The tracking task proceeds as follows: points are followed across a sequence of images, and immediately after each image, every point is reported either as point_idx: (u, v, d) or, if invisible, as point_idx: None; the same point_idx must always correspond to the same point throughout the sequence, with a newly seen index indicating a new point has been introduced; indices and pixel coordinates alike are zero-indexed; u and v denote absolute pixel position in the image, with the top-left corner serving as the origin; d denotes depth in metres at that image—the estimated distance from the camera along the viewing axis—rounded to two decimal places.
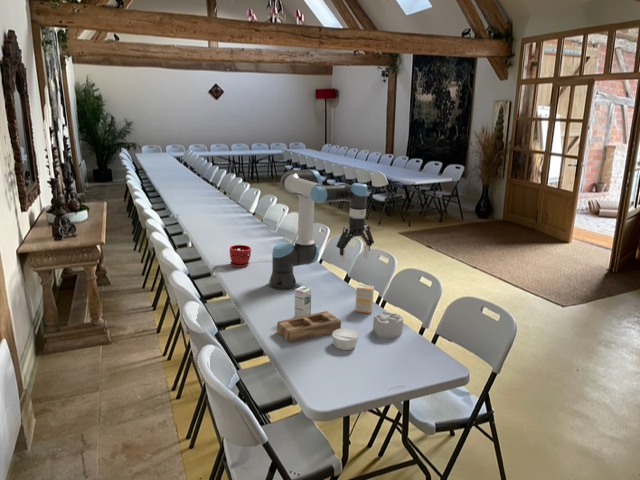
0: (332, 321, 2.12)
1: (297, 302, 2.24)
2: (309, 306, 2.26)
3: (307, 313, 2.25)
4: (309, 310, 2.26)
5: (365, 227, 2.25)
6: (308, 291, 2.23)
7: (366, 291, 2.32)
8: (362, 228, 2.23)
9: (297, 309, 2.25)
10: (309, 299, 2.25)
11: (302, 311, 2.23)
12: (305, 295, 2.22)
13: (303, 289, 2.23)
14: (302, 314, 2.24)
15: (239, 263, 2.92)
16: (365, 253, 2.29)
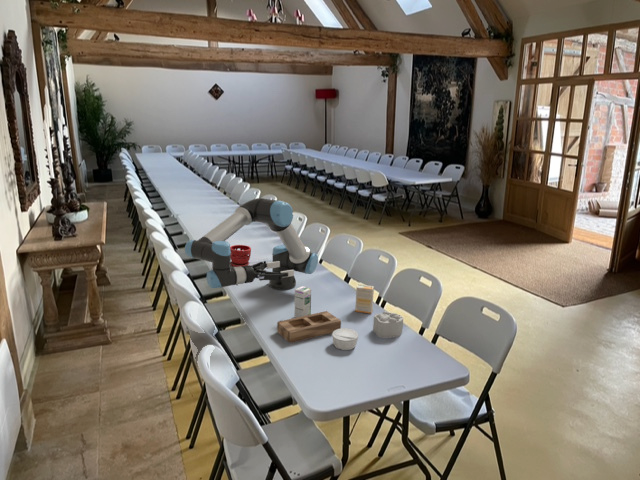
0: (332, 321, 2.12)
1: (297, 302, 2.24)
2: (309, 306, 2.26)
3: (307, 313, 2.25)
4: (309, 310, 2.26)
5: None
6: (308, 291, 2.23)
7: (366, 291, 2.32)
8: None
9: (297, 309, 2.25)
10: (309, 299, 2.25)
11: (302, 311, 2.23)
12: (305, 295, 2.22)
13: (303, 289, 2.23)
14: (302, 314, 2.24)
15: (239, 263, 2.92)
16: None
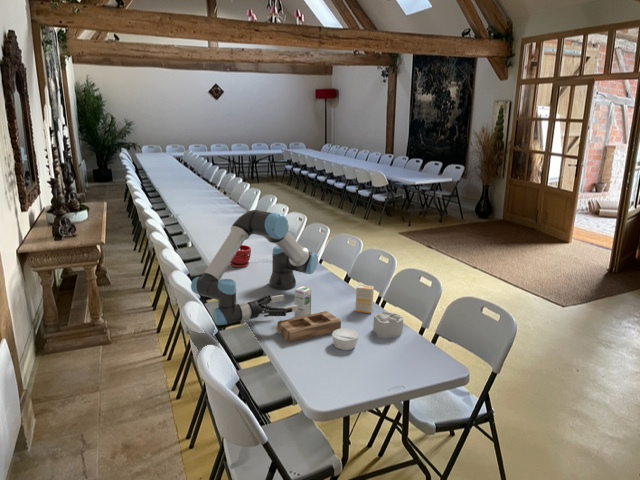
0: (332, 321, 2.12)
1: (297, 302, 2.24)
2: (309, 306, 2.26)
3: (307, 313, 2.25)
4: (309, 310, 2.26)
5: None
6: (308, 291, 2.23)
7: (366, 291, 2.32)
8: None
9: None
10: (309, 299, 2.25)
11: (302, 311, 2.23)
12: (305, 295, 2.22)
13: (303, 289, 2.23)
14: (302, 314, 2.24)
15: (239, 263, 2.92)
16: None
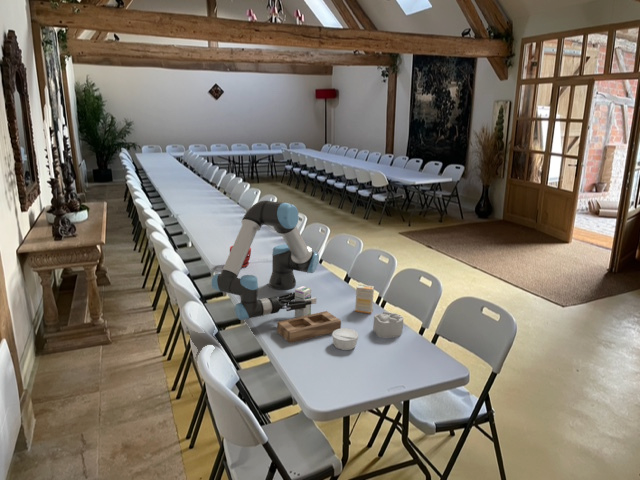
0: (332, 321, 2.12)
1: None
2: (309, 306, 2.26)
3: (307, 313, 2.25)
4: (309, 310, 2.26)
5: None
6: (308, 291, 2.23)
7: (366, 291, 2.32)
8: None
9: (297, 309, 2.25)
10: None
11: (302, 311, 2.23)
12: (305, 295, 2.22)
13: (303, 289, 2.23)
14: (302, 314, 2.24)
15: None
16: None
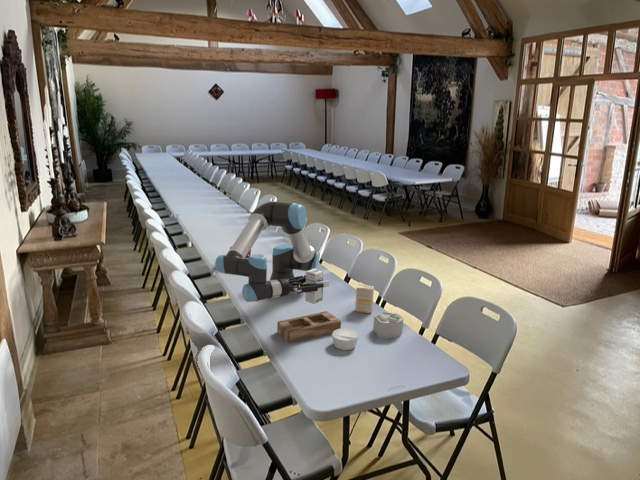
0: (332, 321, 2.12)
1: None
2: (321, 290, 2.12)
3: (319, 297, 2.12)
4: (321, 294, 2.13)
5: (296, 290, 2.02)
6: (320, 273, 2.10)
7: (366, 291, 2.32)
8: None
9: (308, 293, 2.12)
10: None
11: (313, 295, 2.10)
12: (317, 277, 2.08)
13: (315, 271, 2.10)
14: (313, 298, 2.10)
15: None
16: None
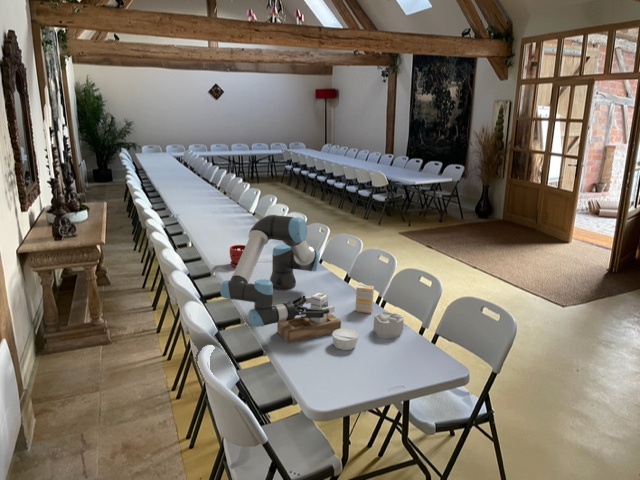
0: (332, 321, 2.12)
1: None
2: (326, 314, 2.13)
3: (324, 321, 2.13)
4: (325, 318, 2.14)
5: None
6: (325, 298, 2.10)
7: (366, 291, 2.32)
8: None
9: None
10: (326, 306, 2.12)
11: (318, 319, 2.11)
12: (322, 302, 2.09)
13: (320, 296, 2.10)
14: (318, 322, 2.11)
15: None
16: None
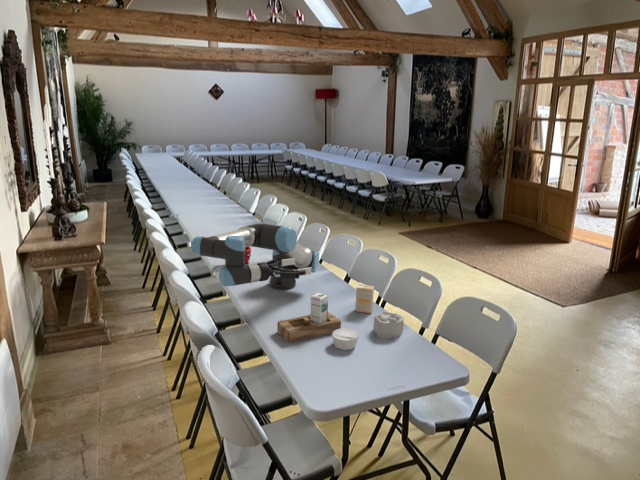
0: (332, 321, 2.12)
1: (313, 309, 2.11)
2: (326, 314, 2.13)
3: (324, 321, 2.13)
4: (325, 318, 2.14)
5: None
6: (325, 298, 2.10)
7: (366, 291, 2.32)
8: None
9: (313, 317, 2.12)
10: (326, 306, 2.12)
11: (318, 319, 2.11)
12: (322, 302, 2.09)
13: (320, 296, 2.10)
14: (318, 322, 2.11)
15: None
16: None
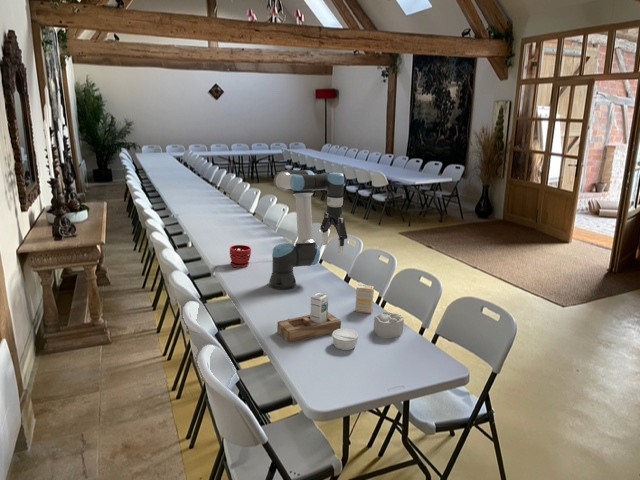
0: (332, 321, 2.12)
1: (313, 309, 2.11)
2: (326, 314, 2.13)
3: (324, 321, 2.13)
4: (325, 318, 2.14)
5: (339, 219, 2.21)
6: (325, 298, 2.10)
7: (366, 291, 2.32)
8: (335, 218, 2.23)
9: (313, 317, 2.12)
10: (326, 306, 2.12)
11: (318, 319, 2.11)
12: (322, 302, 2.09)
13: (320, 296, 2.10)
14: (318, 322, 2.11)
15: (239, 263, 2.92)
16: None
